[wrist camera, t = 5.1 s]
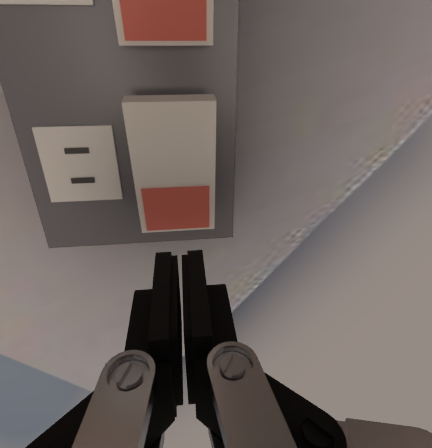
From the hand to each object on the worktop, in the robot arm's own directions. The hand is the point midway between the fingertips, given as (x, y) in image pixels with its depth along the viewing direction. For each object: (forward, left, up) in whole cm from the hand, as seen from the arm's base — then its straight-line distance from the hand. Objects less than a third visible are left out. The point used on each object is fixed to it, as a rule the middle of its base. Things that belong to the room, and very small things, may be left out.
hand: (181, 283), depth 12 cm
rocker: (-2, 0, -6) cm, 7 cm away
